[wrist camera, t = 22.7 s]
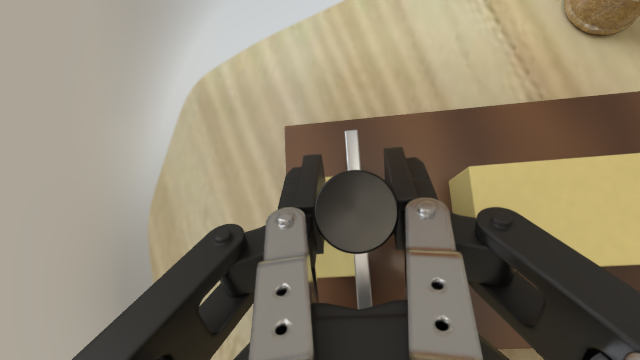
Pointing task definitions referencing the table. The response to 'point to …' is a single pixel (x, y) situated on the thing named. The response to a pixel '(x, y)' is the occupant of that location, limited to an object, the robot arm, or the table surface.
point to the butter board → (458, 154)
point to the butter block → (564, 201)
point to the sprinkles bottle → (602, 15)
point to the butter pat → (334, 261)
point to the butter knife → (356, 215)
